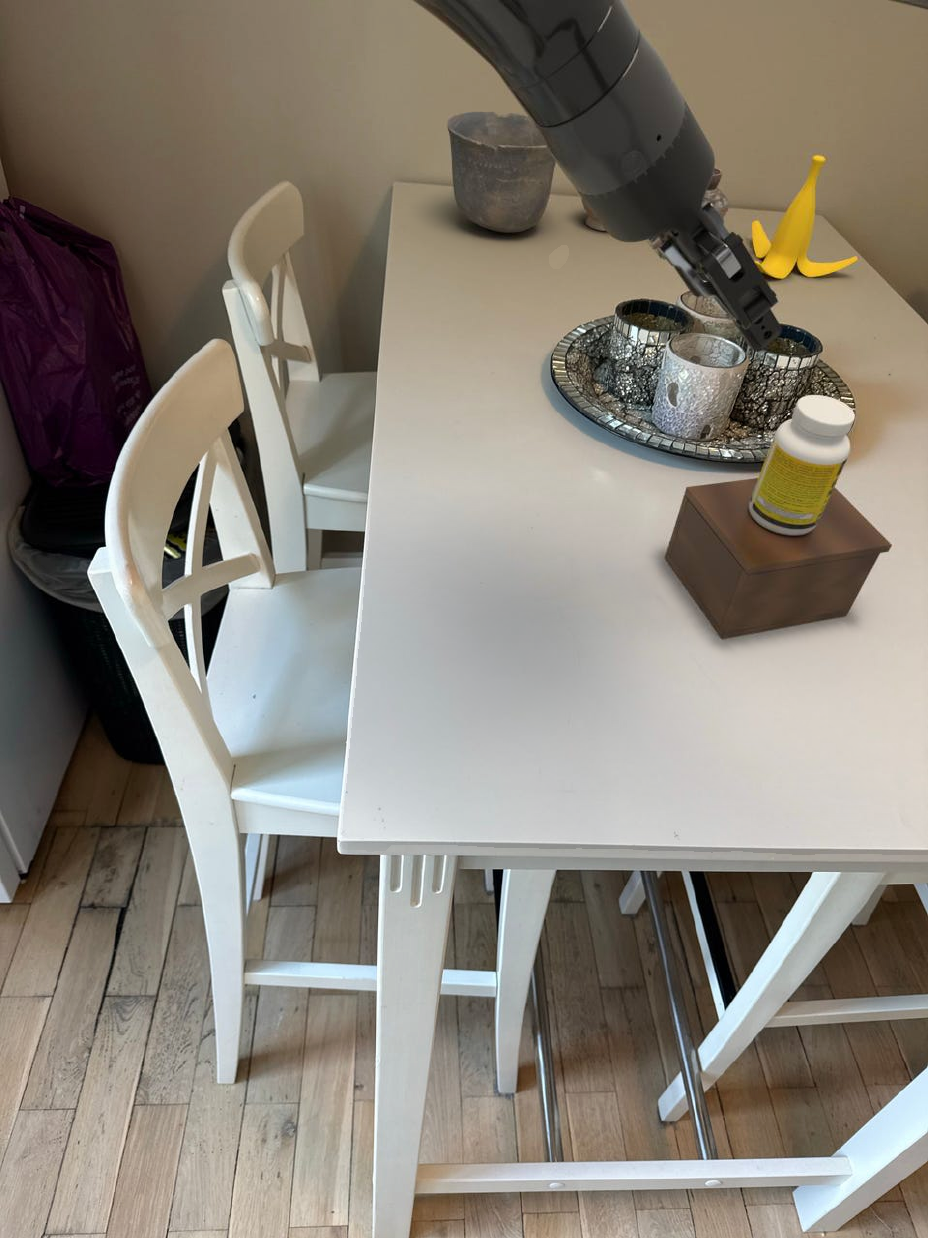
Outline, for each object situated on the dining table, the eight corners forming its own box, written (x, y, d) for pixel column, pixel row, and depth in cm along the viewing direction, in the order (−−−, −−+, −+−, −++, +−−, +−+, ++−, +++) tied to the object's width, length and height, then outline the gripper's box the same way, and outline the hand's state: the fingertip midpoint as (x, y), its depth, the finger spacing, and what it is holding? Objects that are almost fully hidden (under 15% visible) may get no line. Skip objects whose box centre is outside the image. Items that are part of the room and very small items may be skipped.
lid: (815, 476, 86) (818, 469, 85) (888, 551, 78) (892, 544, 78) (684, 493, 82) (686, 486, 82) (747, 574, 74) (750, 567, 74)
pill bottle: (824, 541, 77) (875, 432, 70) (755, 535, 77) (798, 426, 69) (806, 498, 82) (852, 392, 74) (740, 493, 81) (780, 386, 74)
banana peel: (750, 239, 151) (782, 132, 139) (852, 277, 143) (895, 167, 131) (698, 263, 142) (728, 150, 130) (804, 305, 133) (846, 189, 122)
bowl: (474, 254, 137) (483, 150, 127) (423, 213, 148) (427, 114, 137) (568, 240, 144) (584, 140, 134) (513, 202, 155) (523, 106, 144)
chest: (781, 539, 91) (807, 477, 86) (846, 616, 83) (880, 553, 78) (664, 557, 88) (684, 494, 82) (721, 639, 80) (747, 575, 74)
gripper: (737, 124, 45) (839, 320, 57) (622, 53, 55) (729, 233, 66) (624, 233, 48) (743, 401, 59) (532, 147, 57) (650, 305, 68)
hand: (735, 312), depth 62 cm, fingers open, 8 cm apart
